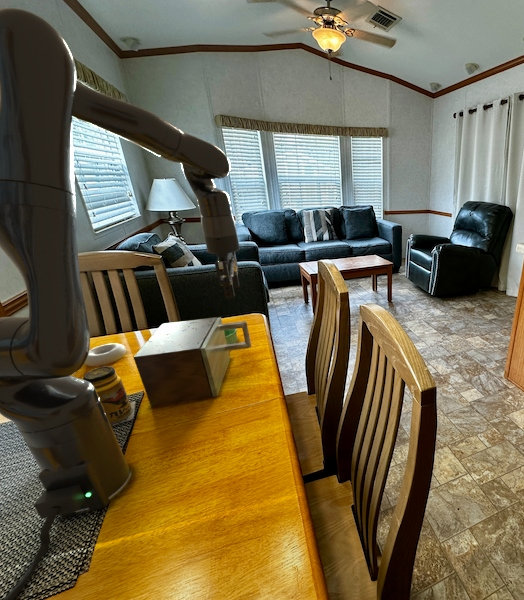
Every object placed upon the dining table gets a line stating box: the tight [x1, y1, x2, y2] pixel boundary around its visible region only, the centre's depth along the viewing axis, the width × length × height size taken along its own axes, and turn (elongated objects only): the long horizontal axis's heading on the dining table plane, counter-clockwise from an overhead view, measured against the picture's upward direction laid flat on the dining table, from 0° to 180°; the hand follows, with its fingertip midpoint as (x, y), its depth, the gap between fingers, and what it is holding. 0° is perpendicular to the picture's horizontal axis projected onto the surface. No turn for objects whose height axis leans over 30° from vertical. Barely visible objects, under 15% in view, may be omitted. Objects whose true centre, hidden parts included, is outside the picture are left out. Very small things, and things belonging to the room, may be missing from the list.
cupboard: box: [133, 317, 217, 409], centre depth 85 cm, size 13×18×14 cm
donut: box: [84, 342, 127, 367], centre depth 97 cm, size 10×4×10 cm
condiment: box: [82, 365, 137, 427], centre depth 72 cm, size 7×8×12 cm
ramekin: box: [224, 328, 238, 344], centre depth 105 cm, size 9×9×4 cm
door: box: [201, 317, 252, 398], centre depth 87 cm, size 8×18×14 cm, turn 17°
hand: (233, 292), depth 89 cm, fingers open, 8 cm apart
